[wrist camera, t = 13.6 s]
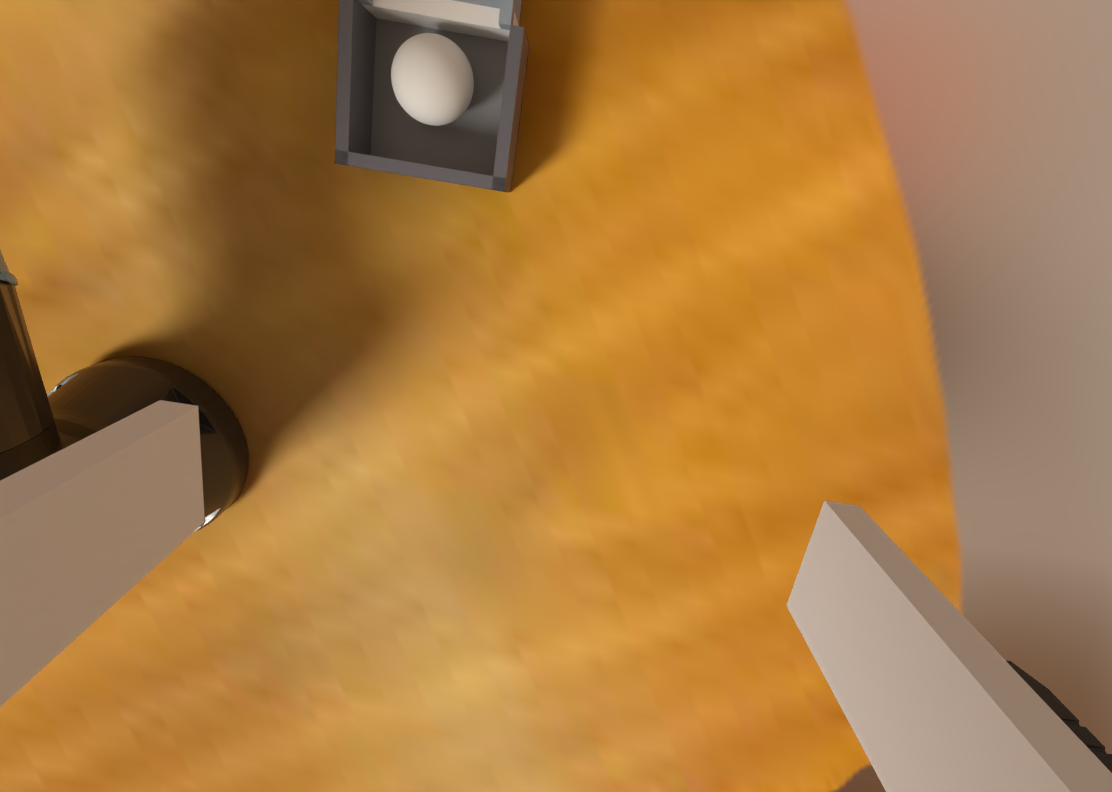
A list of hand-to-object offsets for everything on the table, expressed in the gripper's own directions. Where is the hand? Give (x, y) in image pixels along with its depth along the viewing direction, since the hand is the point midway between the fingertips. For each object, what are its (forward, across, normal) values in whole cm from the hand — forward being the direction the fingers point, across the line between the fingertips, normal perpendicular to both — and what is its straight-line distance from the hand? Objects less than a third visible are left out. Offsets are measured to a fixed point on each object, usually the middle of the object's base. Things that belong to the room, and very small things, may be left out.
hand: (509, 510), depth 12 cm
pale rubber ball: (+29, -9, +12) cm, 32 cm away
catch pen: (+32, -9, +10) cm, 35 cm away
